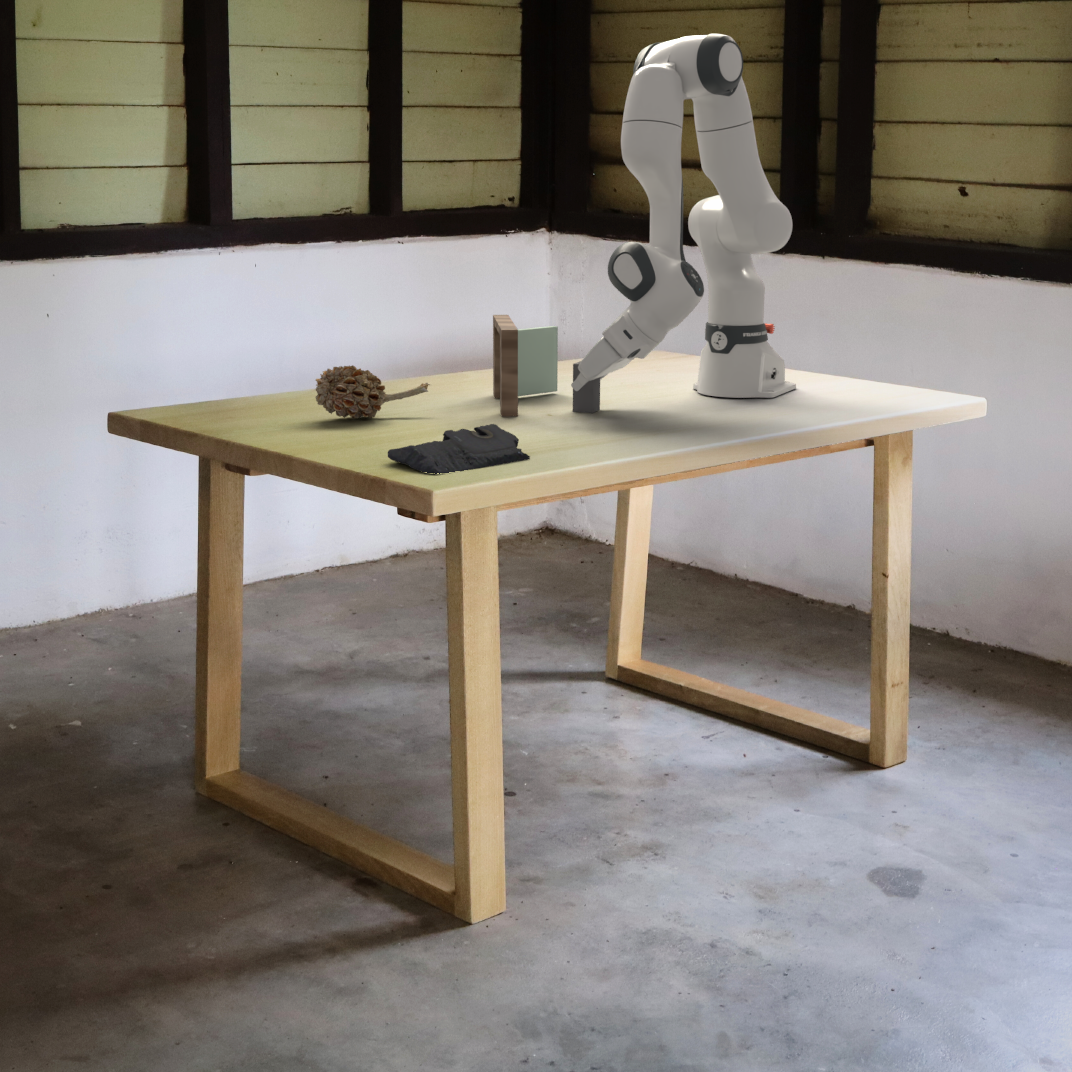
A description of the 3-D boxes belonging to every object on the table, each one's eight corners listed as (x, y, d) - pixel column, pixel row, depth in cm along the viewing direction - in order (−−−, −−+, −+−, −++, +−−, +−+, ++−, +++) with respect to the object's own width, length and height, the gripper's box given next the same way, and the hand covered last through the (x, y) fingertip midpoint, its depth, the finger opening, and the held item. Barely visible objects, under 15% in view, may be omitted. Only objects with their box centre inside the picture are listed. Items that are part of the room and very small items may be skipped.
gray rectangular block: (580, 408, 289) (580, 361, 286) (599, 409, 287) (600, 362, 285) (572, 411, 285) (573, 363, 283) (592, 412, 284) (593, 365, 281)
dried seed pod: (325, 426, 269) (323, 371, 266) (307, 418, 277) (305, 364, 275) (438, 417, 279) (438, 363, 276) (418, 409, 287) (417, 357, 284)
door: (507, 397, 297) (507, 331, 293) (498, 396, 299) (498, 330, 295) (557, 391, 305) (557, 326, 301) (548, 389, 307) (548, 325, 304)
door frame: (493, 395, 303) (492, 314, 299) (508, 394, 303) (508, 314, 299) (501, 416, 279) (501, 329, 275) (517, 416, 279) (517, 329, 275)
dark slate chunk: (373, 464, 240) (372, 434, 239) (478, 446, 254) (478, 418, 253) (433, 480, 229) (433, 449, 228) (540, 460, 243) (540, 431, 242)
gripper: (640, 316, 288) (591, 364, 295) (604, 328, 270) (552, 379, 276) (662, 341, 288) (612, 389, 294) (627, 354, 270) (575, 405, 276)
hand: (583, 384), depth 285 cm, fingers open, 8 cm apart
